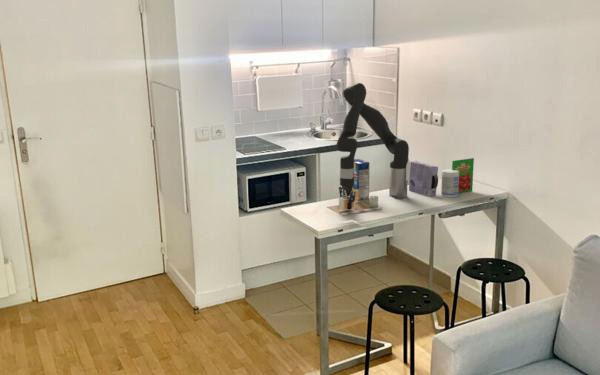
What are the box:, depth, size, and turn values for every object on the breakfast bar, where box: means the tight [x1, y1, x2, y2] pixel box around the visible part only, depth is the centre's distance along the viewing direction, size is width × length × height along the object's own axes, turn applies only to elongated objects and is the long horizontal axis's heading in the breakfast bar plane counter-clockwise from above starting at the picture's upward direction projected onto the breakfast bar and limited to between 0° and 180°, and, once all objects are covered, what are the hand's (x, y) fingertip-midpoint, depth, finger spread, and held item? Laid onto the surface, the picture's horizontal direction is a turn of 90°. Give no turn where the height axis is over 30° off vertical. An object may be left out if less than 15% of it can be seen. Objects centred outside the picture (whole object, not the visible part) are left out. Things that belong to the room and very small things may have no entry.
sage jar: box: [369, 195, 379, 208], centre depth 345 cm, size 4×4×6 cm
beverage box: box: [352, 158, 370, 202], centre depth 363 cm, size 7×11×22 cm, turn 26°
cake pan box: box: [408, 160, 439, 198], centre depth 374 cm, size 19×5×18 cm, turn 34°
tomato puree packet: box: [451, 157, 475, 195], centre depth 372 cm, size 15×1×20 cm, turn 116°
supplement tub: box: [440, 168, 459, 198], centre depth 368 cm, size 10×10×15 cm
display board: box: [326, 200, 383, 217], centre depth 346 cm, size 24×18×2 cm
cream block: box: [338, 196, 356, 211], centre depth 340 cm, size 7×5×6 cm, turn 116°
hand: (347, 207), depth 340 cm, fingers closed on cream block, 4 cm apart
